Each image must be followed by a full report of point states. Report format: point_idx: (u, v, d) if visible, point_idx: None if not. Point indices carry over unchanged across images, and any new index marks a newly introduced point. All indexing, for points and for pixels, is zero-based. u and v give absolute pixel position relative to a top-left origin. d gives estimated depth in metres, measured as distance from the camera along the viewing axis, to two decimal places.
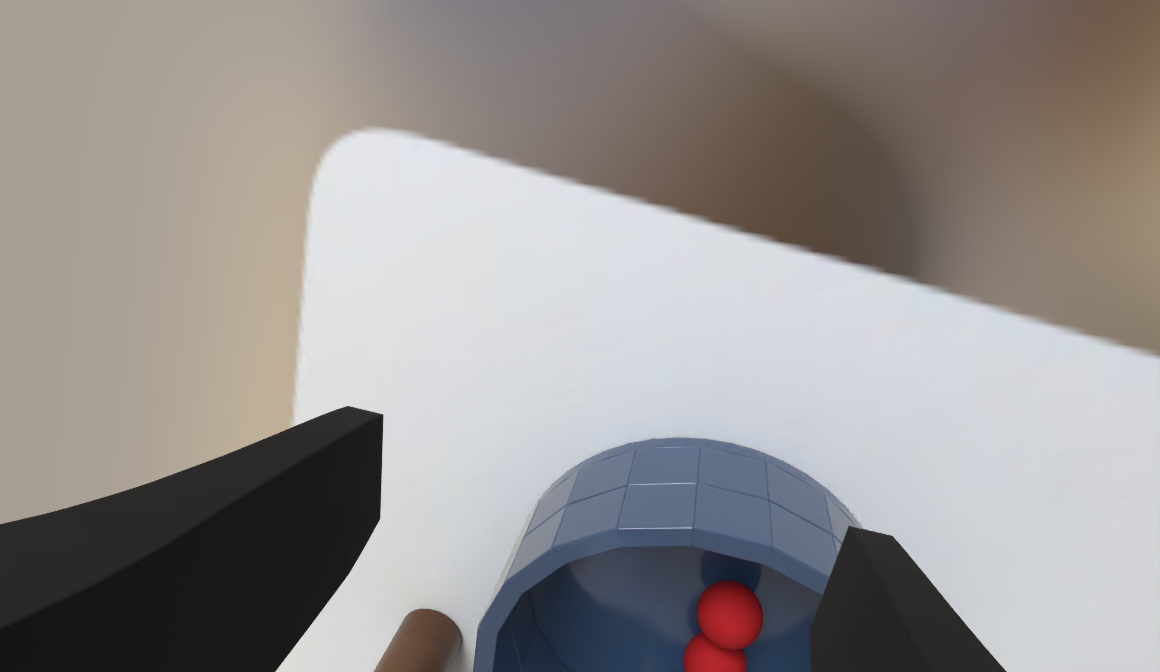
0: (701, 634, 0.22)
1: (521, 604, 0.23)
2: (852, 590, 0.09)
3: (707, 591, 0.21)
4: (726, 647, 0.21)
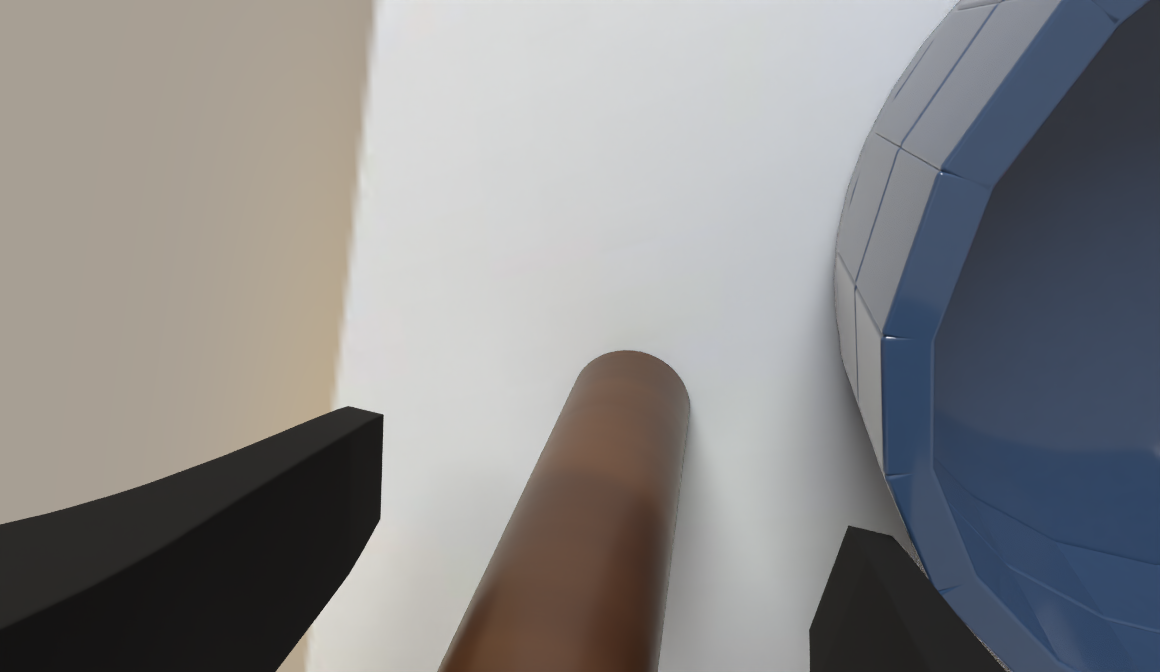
0: None
1: None
2: (852, 590, 0.09)
3: None
4: None
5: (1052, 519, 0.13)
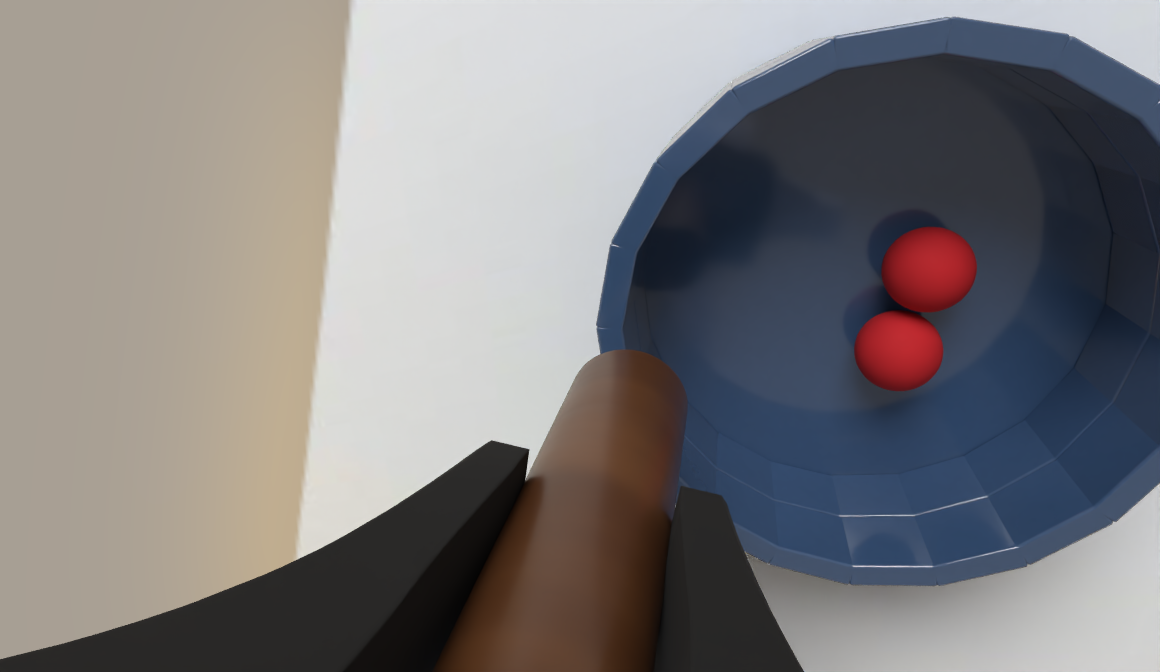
0: (880, 314, 0.17)
1: (640, 289, 0.18)
2: (671, 545, 0.09)
3: (899, 238, 0.16)
4: (931, 299, 0.16)
5: (768, 446, 0.20)
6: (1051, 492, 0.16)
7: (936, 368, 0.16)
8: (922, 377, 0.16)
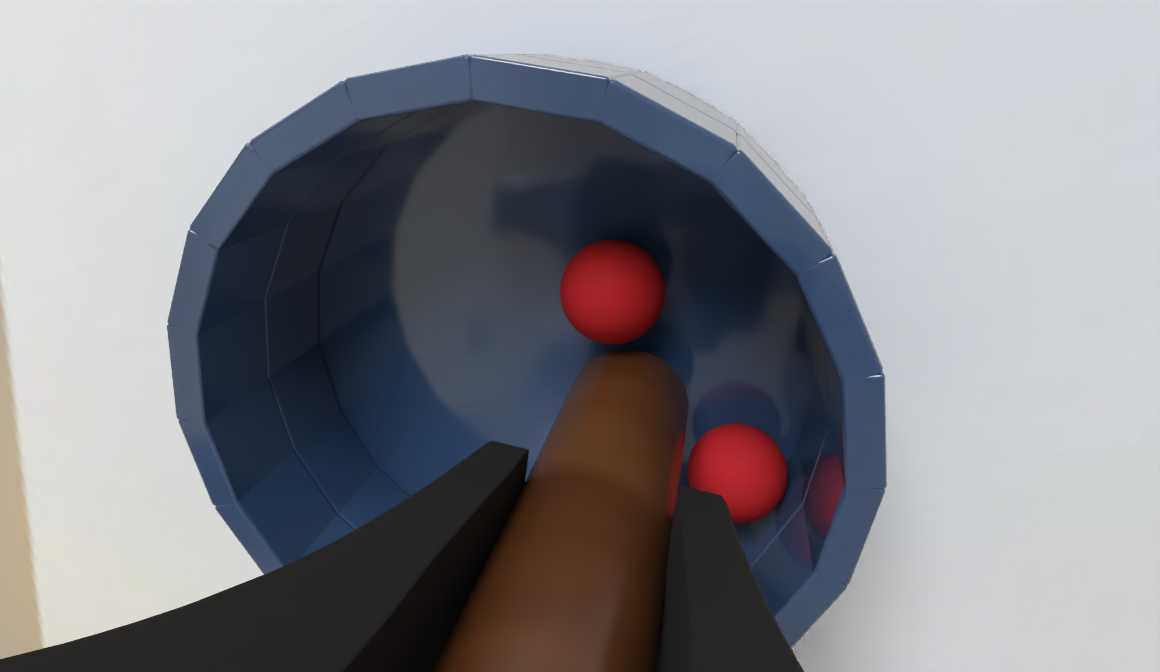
0: (778, 457, 0.14)
1: (301, 359, 0.16)
2: (671, 545, 0.09)
3: None
4: (616, 278, 0.12)
5: None
6: None
7: None
8: None
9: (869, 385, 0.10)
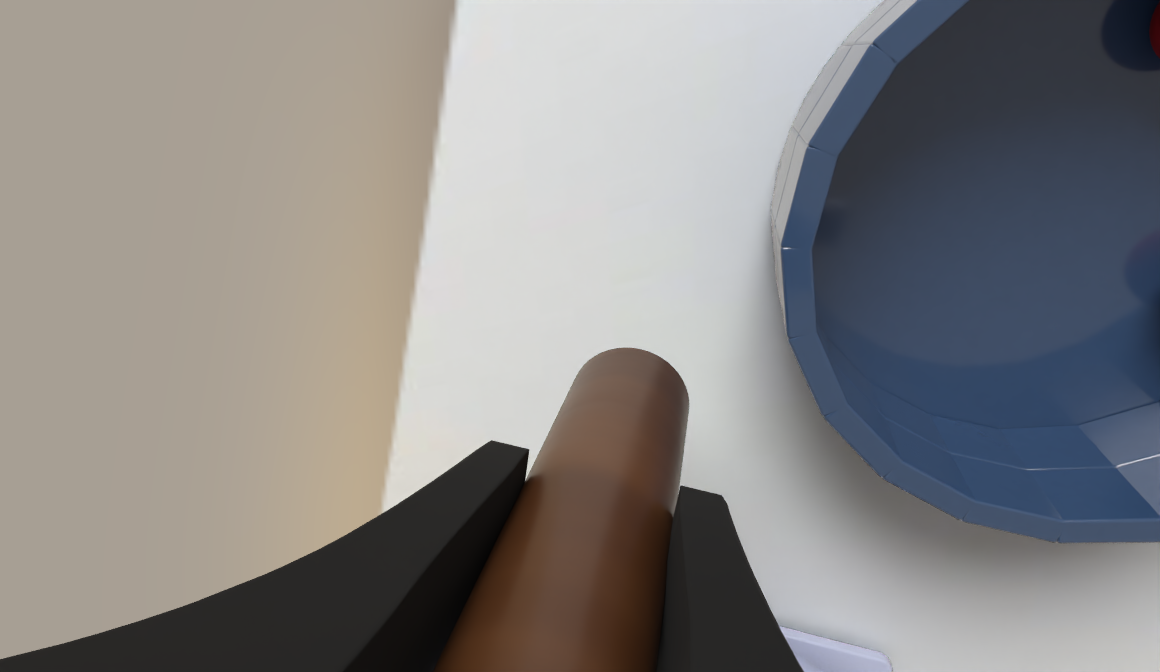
0: None
1: None
2: (671, 545, 0.09)
3: (1151, 42, 0.14)
4: None
5: (927, 398, 0.18)
6: None
7: None
8: None
9: None
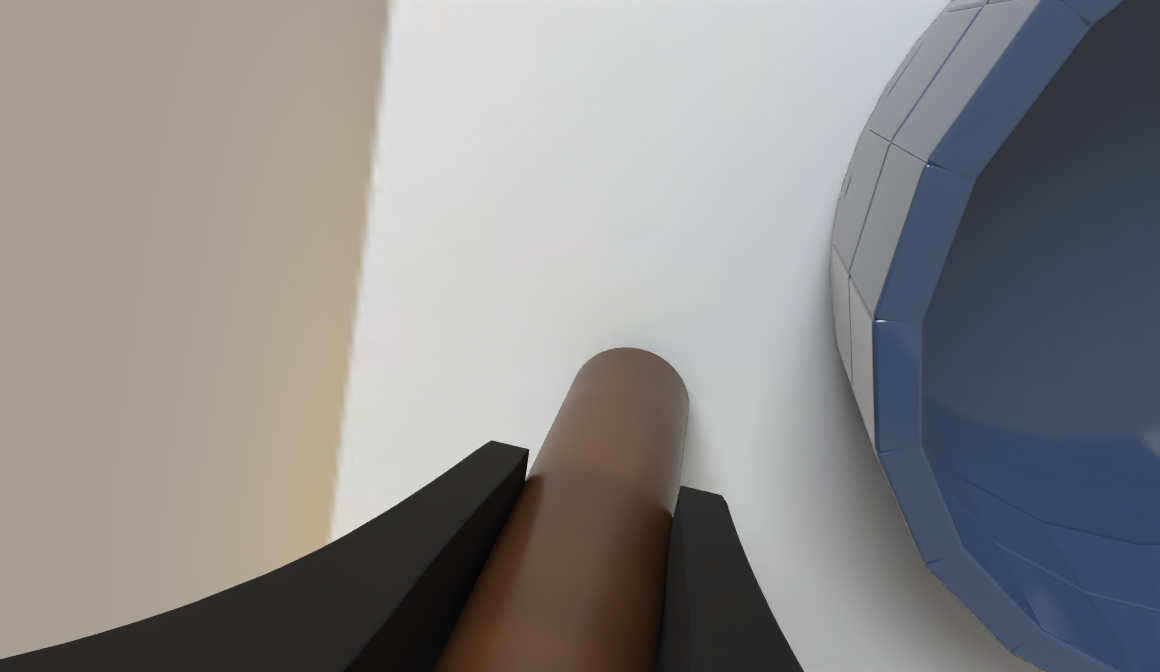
0: None
1: None
2: (671, 545, 0.09)
3: None
4: None
5: (1040, 501, 0.13)
6: None
7: None
8: None
9: None
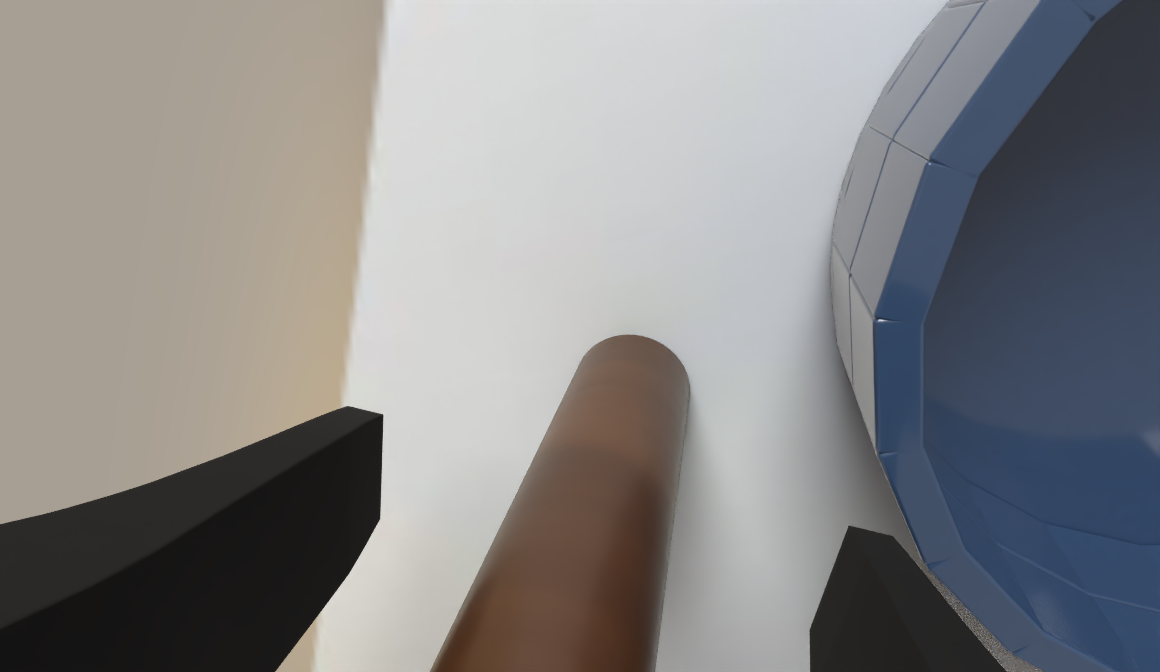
0: None
1: None
2: (852, 590, 0.09)
3: None
4: None
5: (1041, 501, 0.13)
6: None
7: None
8: None
9: None
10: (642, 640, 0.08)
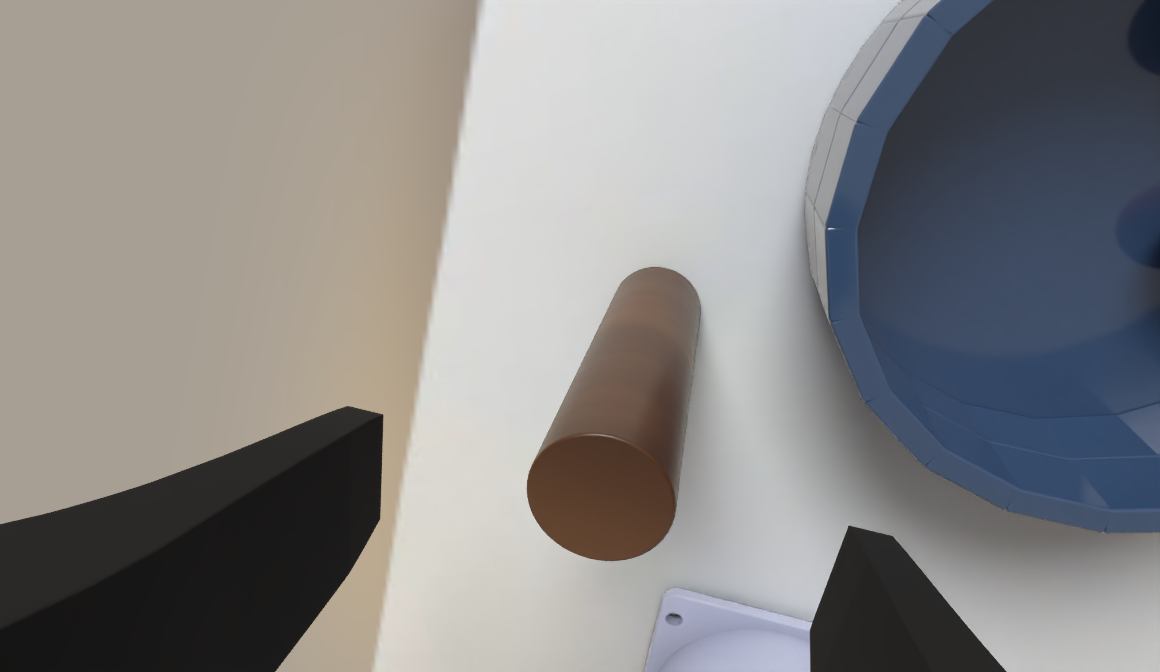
0: None
1: None
2: (852, 590, 0.09)
3: None
4: None
5: (962, 387, 0.18)
6: None
7: None
8: None
9: None
10: (676, 421, 0.12)
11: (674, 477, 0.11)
